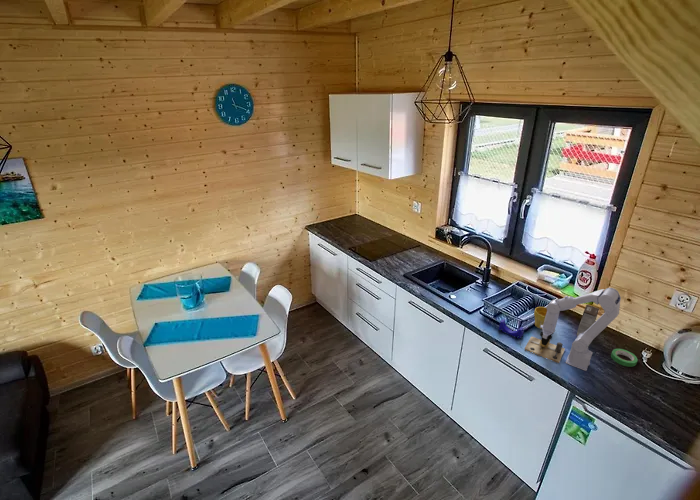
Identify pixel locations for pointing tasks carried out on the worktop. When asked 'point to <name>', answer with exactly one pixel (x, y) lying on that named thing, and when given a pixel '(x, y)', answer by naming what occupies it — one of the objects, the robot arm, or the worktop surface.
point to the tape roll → (621, 361)
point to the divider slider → (544, 345)
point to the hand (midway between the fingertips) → (544, 342)
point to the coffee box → (587, 318)
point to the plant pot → (540, 316)
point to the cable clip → (509, 331)
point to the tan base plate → (545, 349)
